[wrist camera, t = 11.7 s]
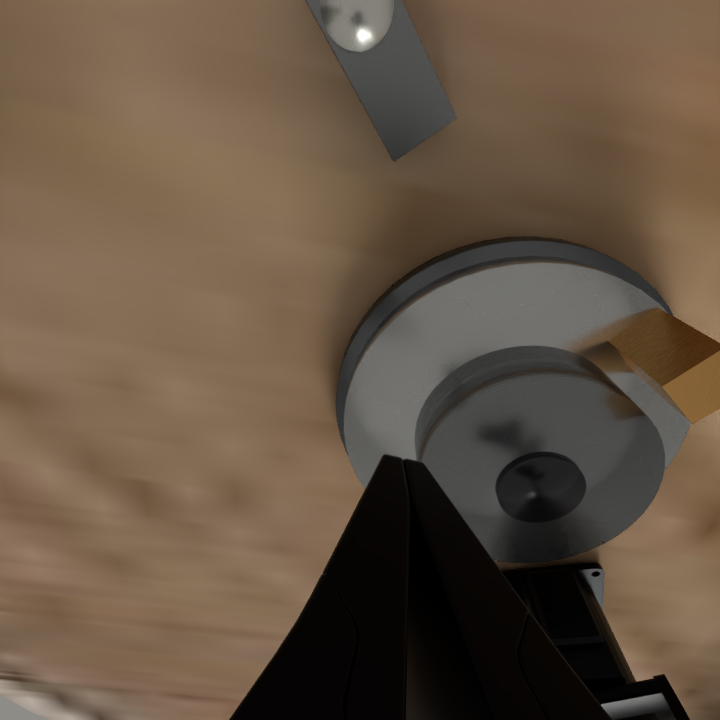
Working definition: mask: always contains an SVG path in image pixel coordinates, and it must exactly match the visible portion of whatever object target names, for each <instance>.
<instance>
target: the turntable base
mask: <svg viewBox="0 0 720 720" xmlns="http://www.w3.org/2000/svg"><path fill="white" fill-rule="evenodd" d="M523 256H544V257H559V258H564V259H569V260H574V261H578V262H583V263H586V264H589V265H592V266H594V267H597V268H600V269H603V270H605V271H607V272H609V273H611V274H613V275H615V276H616V277H618V278H620V279H622V280H624V281H626V282H627V283H629V284H631V285H633V286H635V287H637V288H638V289H640V290H642V291H644V292H645V293H646V294H647V295H649V296H650V297H651V298H652V299H654V300H655V301H656V302H658V303H659V304H660V305H661V306H662V307H663V308H664V309H665V310H666V311H667V313H668V314H670V315H672V316H673V314H672V312H671V310H670V308H669V306H668V305H667V304H666V302H665V301H664V300H663V298H662V297H661V296H660V295H659V293H658V292H657V291H656V289H655V288H653V287H652V286H651V285H650V284H649V283H648V282H647V281H646V280H645V279H644V278H643V277H641V276H640V275H639V274H638V273H636V272H635V271H633V270H632V269H630V268H629V267H627V266H625V265H624V264H622V263H621V262H619V261H617V260H615V259H613V258H611V257H609V256H607V255H604V254H602V253H600V252H598V251H595V250H593V249H591V248H588V247H586V246H583V245H579V244H576V243H572V242H568V241H564V240H561V239H552V238H544V237H505V238H499V239H492V240H485V241H481V242H477V243H473V244H470V245H466V246H463V247H459V248H456V249H454V250H452V251H449V252H447V253H444V254H442V255H440V256H437V257H435V258H433V259H431V260H429V261H428V262H426V263H424V264H422V265H421V266H419V267H417V268H415V269H414V270H412V271H411V272H409V273H408V274H407V275H405V276H404V277H403V278H401V279H400V280H399V281H397V282H396V283H395V284H393V285H392V286H391V287H390V288H389V289H388V290H387V291H386V292H385V293H384V294H383V295H382V296H381V297H380V298H379V299H378V300H377V301H376V302H375V303H374V304H373V306H372V307H371V308H370V309H369V311H368V312H367V313H366V315H365V316H364V317H363V318H362V320H361V322H360V323H359V325H358V327H357V329H356V330H355V332H354V334H353V335H352V337H351V340H350V342H349V345H348V347H347V349H346V352H345V354H344V358H343V362H342V366H341V370H340V374H339V379H338V385H337V396H336V412H337V422H338V427H339V431H340V436H341V439H342V442H343V444H344V447H345V449H346V452H347V448H346V444H345V435H344V410H345V403H346V396H347V391H348V386H349V381H350V377H351V374H352V372H353V369H354V366H355V363H356V361H357V358H358V357H359V355H360V353H361V351H362V349H363V347H364V346H365V344H366V342H367V341H368V339H369V338H370V336H371V335H372V334H373V332H374V331H375V330H376V328H377V327H378V326H379V324H380V323H381V322H382V321H383V320H384V319H385V318H386V317H387V316H388V315H389V314H390V313H391V312H392V311H393V310H394V309H395V308H396V307H397V306H399V305H400V304H401V303H402V302H404V301H405V300H406V299H407V298H408V297H410V296H411V295H412V294H414V293H415V292H417V291H418V290H420V289H422V288H423V287H425V286H427V285H428V284H430V283H431V282H433V281H435V280H437V279H439V278H441V277H444V276H446V275H448V274H450V273H452V272H454V271H457V270H459V269H463V268H466V267H469V266H472V265H475V264H478V263H481V262H486V261H491V260H497V259H502V258H507V257H523ZM347 454H348V452H347ZM348 456H349V455H348Z"/></svg>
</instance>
